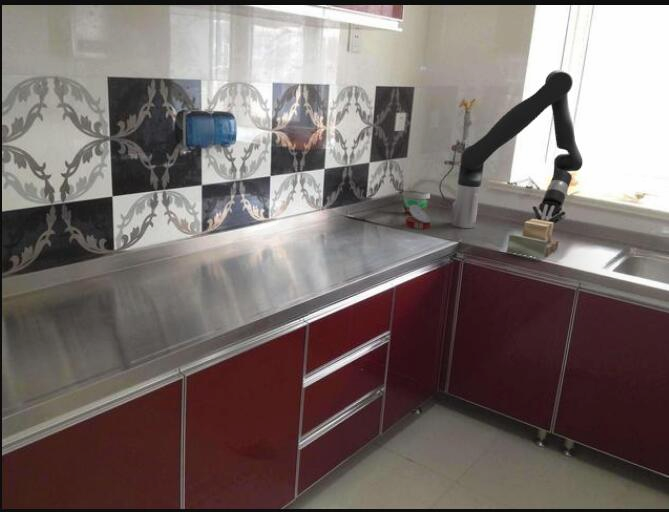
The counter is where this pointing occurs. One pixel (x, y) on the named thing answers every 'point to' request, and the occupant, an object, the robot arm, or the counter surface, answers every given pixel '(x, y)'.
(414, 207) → the canned food
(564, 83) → the robot arm
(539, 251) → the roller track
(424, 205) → the food container
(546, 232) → the cardboard box
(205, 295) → the counter surface
